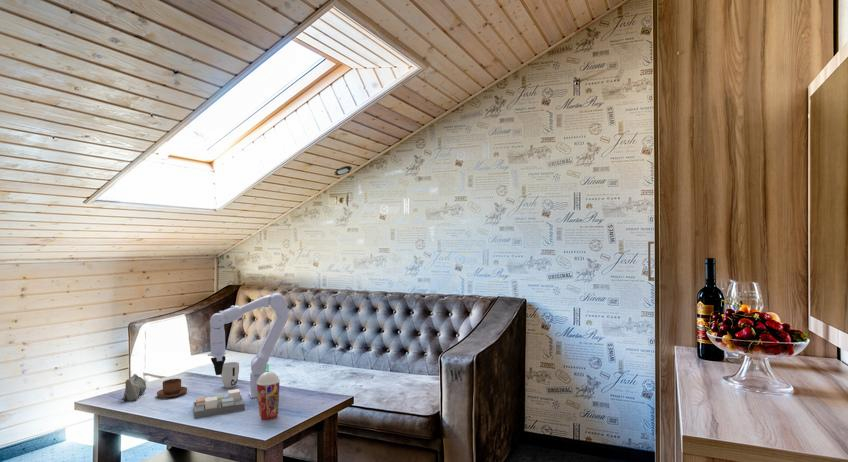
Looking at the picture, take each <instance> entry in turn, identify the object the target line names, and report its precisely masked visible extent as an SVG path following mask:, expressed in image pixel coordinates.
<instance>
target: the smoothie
mask: <svg viewBox="0 0 848 462" xmlns="http://www.w3.org/2000/svg"><path fill="white" fill-rule="evenodd" d="M269 365H270V364H269V363H267V369H266V371H267V372H264V373H263V374H261V375H260V377H259V379H258V381H257V392H258V397H257V403H258V413H259V417H260V419H261V420H262V421H271V420H275V419H276V418H277V417H278V415H279V410H280V409H279V407H280V405H279V404H280V383H281V382H280V381H281V380H280V378H279V375H277V373H275V372H273V371H270V367H269Z"/></svg>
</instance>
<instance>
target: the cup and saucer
mask: <svg viewBox="0 0 848 462" xmlns="http://www.w3.org/2000/svg"><path fill="white" fill-rule="evenodd" d="M187 391H188V387H185V386H182V379H181V378H169V379H165V380H163V381H162V389H160V390H158V391H156V395H157V396H158V397H161V398H173V397H178V396H182V395H183V394H185V393H186V392H187Z"/></svg>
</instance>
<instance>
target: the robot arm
mask: <svg viewBox="0 0 848 462" xmlns="http://www.w3.org/2000/svg"><path fill="white" fill-rule="evenodd" d="M261 307H264V308H270V307H271V309H273V310H274V312H275V314H276V317H275V319H274V322H273V324H272V326H271V327H270V329H269V331H268V334H267V335H266V337H265V340H264V342H263V344H262V346H261V348H260V350H259V351H258V353H257V354H256V356H254V357H253V358H252V360H251V363H250V366H251V368H250V370H251V372H250V373H249V378H250V379H249V380H250V383H249V384H250V386H249V387H250V391H249V392H248V395H249V397H250V399H255V398H258V392H257V381H258V379H259V377H260V375H261V374H263V373H264V372H267V364H268V362H269V361H270V356H271V354H272V353H273V350H274V349H275V345H276V344H277V342H278V340H279V337H280V335H281V333H282V332H283V329H284V327H285V325H286V323H287V321H288V319H289V311H288V303H287V301H286V299H285V297H284V295H283V294H282V293H280V292H274V293H272V294H267V295H264V296H261V297H259V298H257V299H254V300H253V301H251V302H248V303H246V304H244V305H242V306H240V305H238V304H237V305H234V304H233V305H231V306H230V307H229V308H226V309H224V310H219V311H218V312H216V313H213V314H212V315H211V316H210V320H209V325H210V332H209V334H210V337H209V338H210V353H207V357H211V358H210V361H211V363H212V364H213V368H214V372H215V376H221V374H222V369H223V364H224V363H226V359H227V358H226V354H227V352H226V331H225V325H226V324H229V323H232V322H235V321H237V320H239V319H242V318H243V317H244V314H247V313H248V312H251V311H254V310H257V309H259V308H261Z"/></svg>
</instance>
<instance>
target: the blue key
mask: <svg viewBox="0 0 848 462" xmlns="http://www.w3.org/2000/svg"><path fill="white" fill-rule="evenodd" d="M221 402H222V407H225V406H231V405H234V400H233V397H232V398H226V399H221Z"/></svg>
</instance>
